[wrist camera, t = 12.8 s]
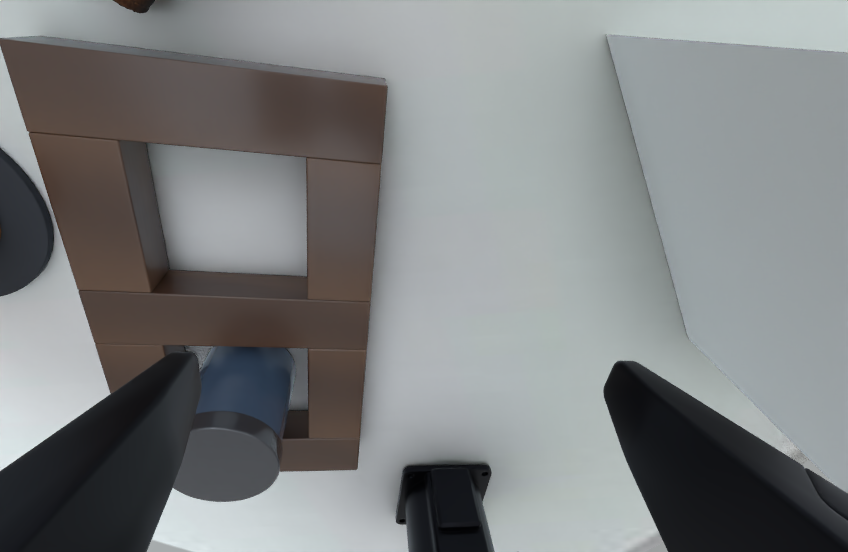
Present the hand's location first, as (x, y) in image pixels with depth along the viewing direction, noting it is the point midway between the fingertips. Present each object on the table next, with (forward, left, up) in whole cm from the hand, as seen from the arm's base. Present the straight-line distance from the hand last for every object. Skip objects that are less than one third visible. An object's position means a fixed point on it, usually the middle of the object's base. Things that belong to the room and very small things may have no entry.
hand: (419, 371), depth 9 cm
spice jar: (-12, +7, -13) cm, 19 cm away
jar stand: (-7, +7, -13) cm, 16 cm away
